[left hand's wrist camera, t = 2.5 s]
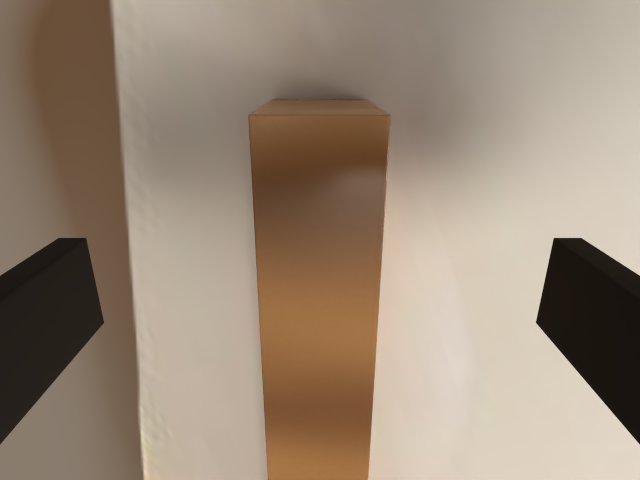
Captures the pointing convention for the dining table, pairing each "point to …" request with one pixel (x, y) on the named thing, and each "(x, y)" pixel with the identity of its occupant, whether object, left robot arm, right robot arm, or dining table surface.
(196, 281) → the dining table surface
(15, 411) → the left robot arm
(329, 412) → the beam
